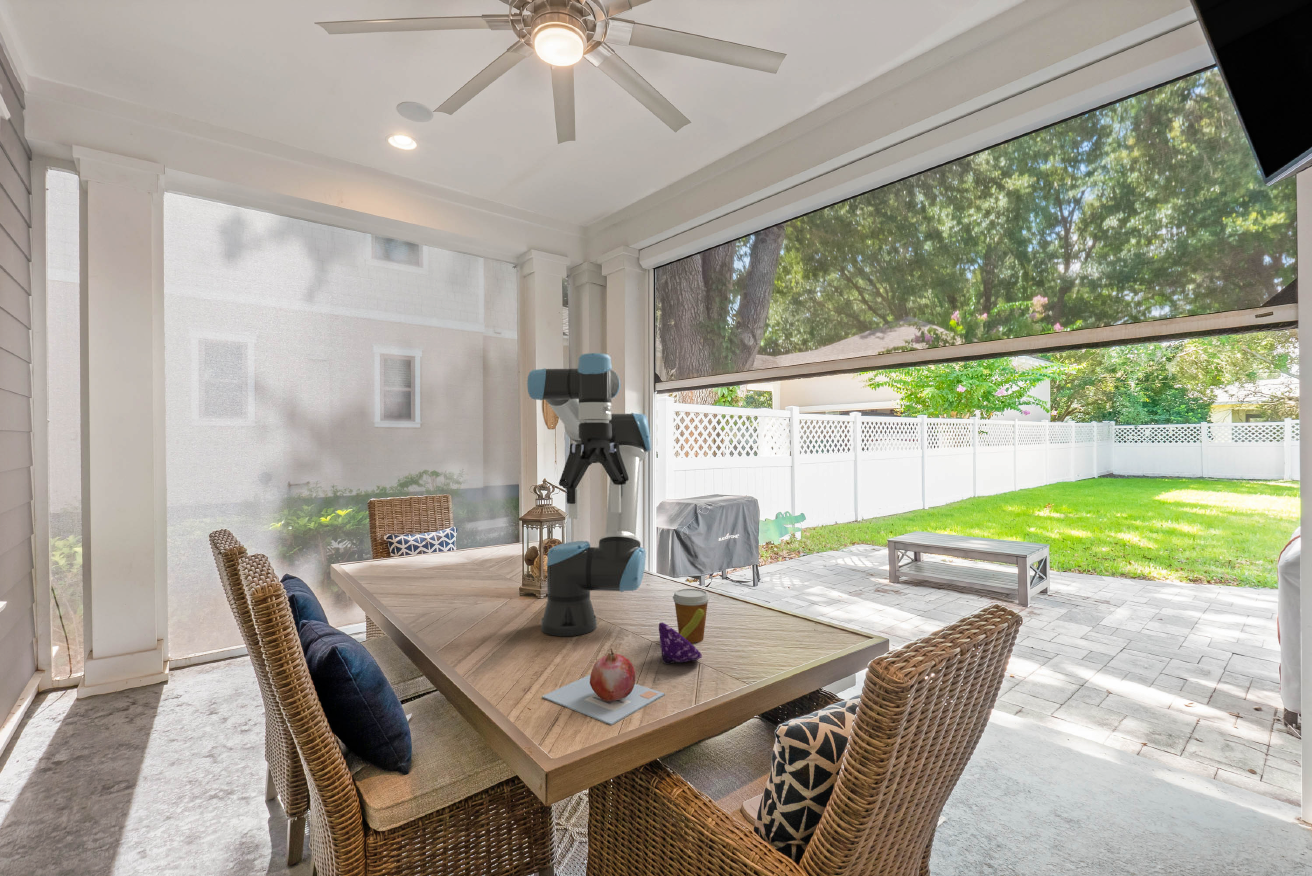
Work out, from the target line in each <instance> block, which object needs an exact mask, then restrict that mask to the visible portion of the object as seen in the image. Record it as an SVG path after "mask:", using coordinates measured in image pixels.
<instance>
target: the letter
mask: <svg viewBox="0 0 1312 876" xmlns="http://www.w3.org/2000/svg"><path fill="white" fill-rule="evenodd" d="M590 676H591V673H590V674H587V675H586V676H584V677H582V678H580V679H577V680H575V681H573V682H570V683H568V684H565V685H564V686H561V687H559V688H557V689H554V690H552V691H550V692H547V693H545V694H544V695H542V696H541V698H542V699H545V700H547V701H549V702H552V703H555V704H557V705H560V706H563V707H565V708H568V709H570V710H573V711H575V712H577V713H580V714H582V715H585V716H587V717H590V718H592V719H595V720H597V721H599V722H601V723H605V724H607V725H610V726H613V725H614V724H616V723H618V722H619V721H621V720H623V719H625V718H627V717H628V716H630V715H632V714H634V713H637V711H640V710H641V709H643V708H644V707H647V706H648V705H650V704H651V703H653V702H655V701H657V700H659V699H660V698H662V697H665V695H666V693H665V692H661V691H659V690H656V689H652V688H649V687H647V686H643V685H641V684H637V683H635V684H634V688H633V690H632V692H631V693H630V694H629V695H628V696H627V697H625V698H623V699H619V700H615V701H609V702H608V701H604V700H602V699H601V698H600V697H599V696H598V695H597V694H596V693H595V692H594V691H593V689H592V687H591V685H590Z"/></svg>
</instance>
